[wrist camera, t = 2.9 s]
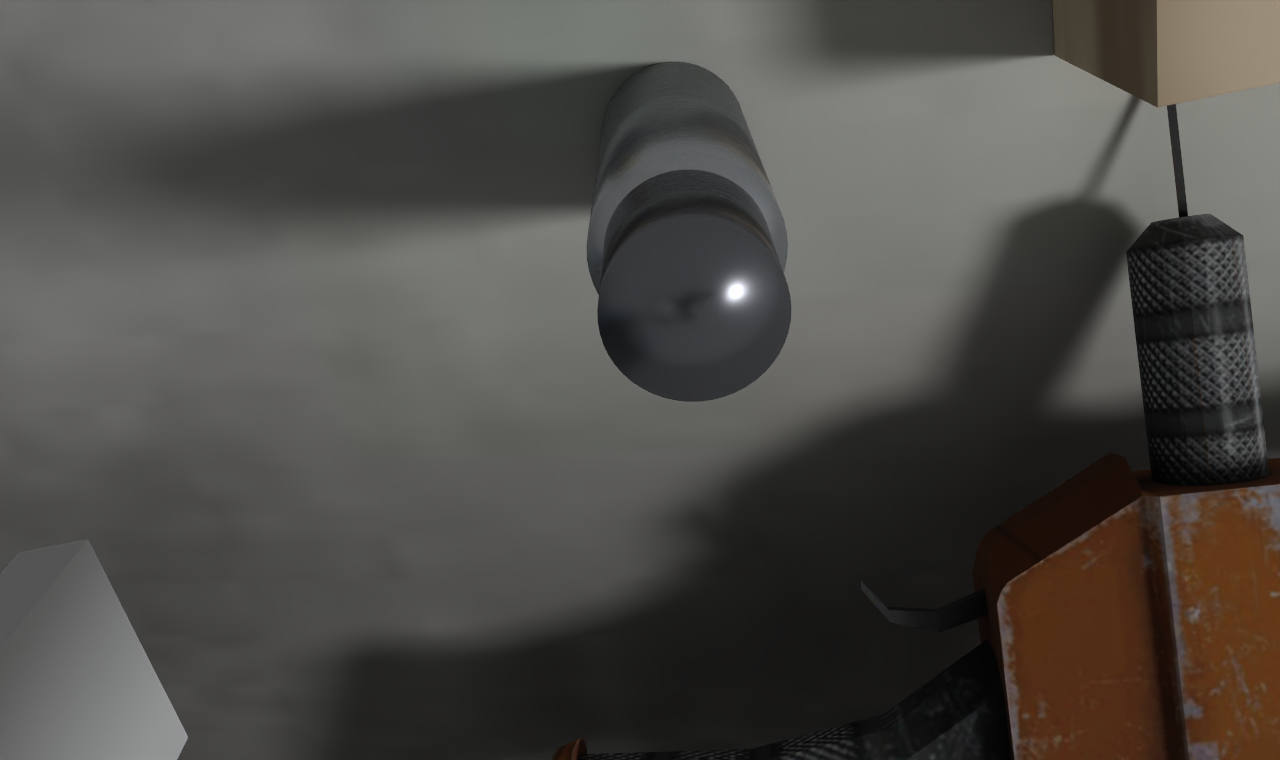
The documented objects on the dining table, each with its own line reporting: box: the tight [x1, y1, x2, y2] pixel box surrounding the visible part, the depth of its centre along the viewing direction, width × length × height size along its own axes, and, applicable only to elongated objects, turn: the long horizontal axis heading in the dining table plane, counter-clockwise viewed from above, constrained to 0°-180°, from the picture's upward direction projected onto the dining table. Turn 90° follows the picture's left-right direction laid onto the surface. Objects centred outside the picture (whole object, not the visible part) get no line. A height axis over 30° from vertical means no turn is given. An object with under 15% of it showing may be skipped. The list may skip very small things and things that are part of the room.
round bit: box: [587, 62, 791, 401], centre depth 23 cm, size 4×4×12 cm
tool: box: [551, 104, 1280, 760], centre depth 28 cm, size 4×27×30 cm
